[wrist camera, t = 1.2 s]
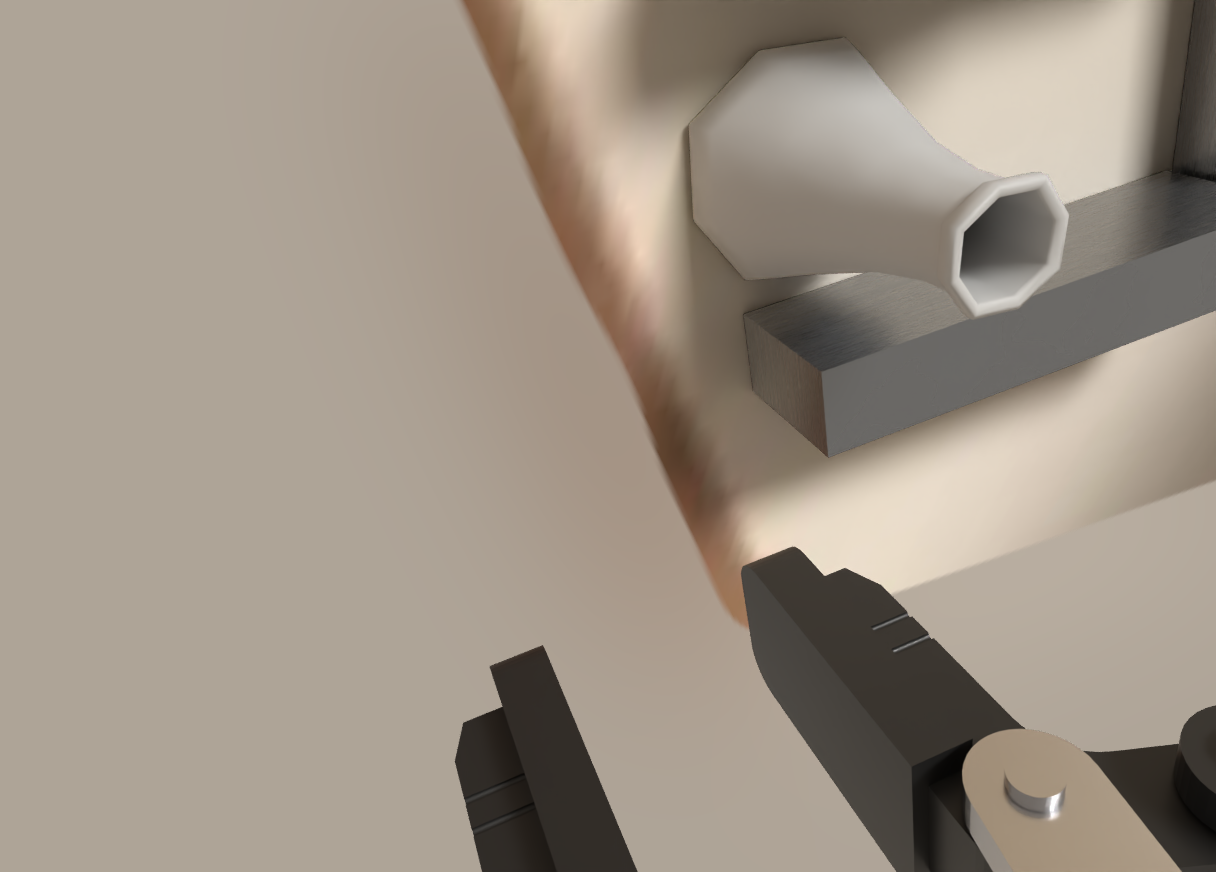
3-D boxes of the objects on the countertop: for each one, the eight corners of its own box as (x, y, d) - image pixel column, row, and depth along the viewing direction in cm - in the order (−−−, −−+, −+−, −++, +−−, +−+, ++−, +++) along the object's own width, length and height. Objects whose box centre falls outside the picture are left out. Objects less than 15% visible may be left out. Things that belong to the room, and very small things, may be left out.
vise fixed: (1304, -411, 26) (1509, -481, 21) (1204, 229, 35) (1330, 266, 31) (667, -283, 22) (763, -338, 18) (752, 391, 32) (828, 457, 28)
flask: (726, 313, 30) (906, 451, 22) (647, 108, 26) (829, 181, 18) (909, 208, 31) (1154, 304, 22) (859, -9, 27) (1134, 9, 18)
